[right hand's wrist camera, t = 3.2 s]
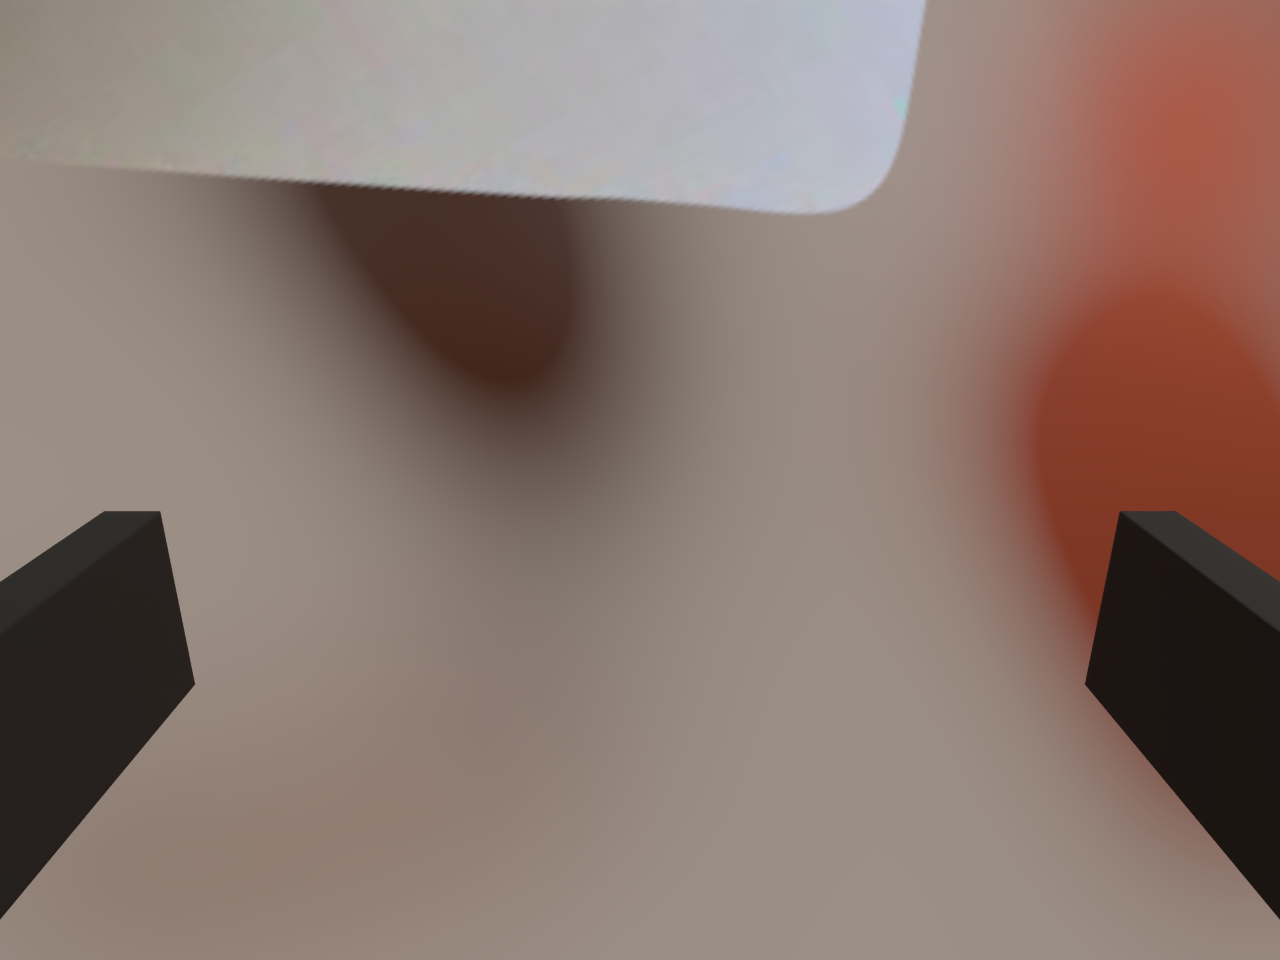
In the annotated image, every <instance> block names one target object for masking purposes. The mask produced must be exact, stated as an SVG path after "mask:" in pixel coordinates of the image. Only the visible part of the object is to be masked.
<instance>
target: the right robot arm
mask: <svg viewBox="0 0 1280 960" xmlns="http://www.w3.org/2000/svg"><path fill="white" fill-rule="evenodd" d="M194 685H195V682H194V677H193V672H192V667H191V662H190V657H189V652H188V647H187V642H186V637H185V632H184V627H183V622H182V617H181V612H180V608H179V602H178V597H177V592H176V587H175V583H174V578H173V573H172V568H171V563H170V558H169V553H168V548H167V543H166V538H165V533H164V528H163V523H162V518H161V513H160V511H104V512H103V513H101V514H100V515H98V516H97V517H95V518H94V519H92V520H91V521H89V522H88V523H86V524H85V525H83V526H82V527H80V528H79V529H77V530H76V531H75V532H73V533H72V534H70V535H69V536H67V537H66V538H64V539H63V540H61V541H60V542H58V543H57V544H55V545H54V546H52V547H51V548H50V549H48V550H47V551H45V552H44V553H42V554H41V555H39V556H38V557H36V558H35V559H33V560H32V561H30V562H29V563H27V564H26V565H24V566H23V567H22V568H20V569H19V570H17V571H16V572H14V573H13V574H11V575H10V576H8V577H7V578H5V579H4V580H2V581H1V582H0V919H1V918H2V917H3V915H4V914H5V913H6V912H7V911H8V909H9V908H10V907H11V906H12V905H13V903H14V902H15V901H16V900H17V899H18V897H19V896H20V895H21V894H22V892H23V891H24V890H25V889H26V888H27V886H28V885H29V884H30V883H31V882H32V880H33V879H34V878H35V877H36V876H37V874H38V873H39V872H40V871H41V870H42V868H43V867H44V866H45V865H46V864H47V862H48V861H49V860H50V859H51V857H52V856H53V855H54V854H55V853H56V851H57V850H58V849H59V848H60V847H61V845H62V844H63V843H64V842H65V841H66V839H67V838H68V837H69V836H70V835H71V833H72V832H73V831H74V830H75V828H76V827H77V826H78V825H79V824H80V823H81V821H82V820H83V819H84V818H85V816H86V815H87V814H88V813H89V812H90V810H91V809H92V808H93V807H94V806H95V804H96V803H97V802H98V801H99V800H100V798H101V797H102V796H103V795H104V794H105V792H106V791H107V790H108V789H109V787H110V786H111V785H112V784H113V783H114V781H115V780H116V779H117V778H118V777H119V775H120V774H121V773H122V772H123V771H124V769H125V768H126V767H127V766H128V765H129V763H130V762H131V761H132V760H133V759H134V757H135V756H136V755H137V754H138V753H139V751H140V750H141V749H142V748H143V746H144V745H145V744H146V743H147V742H148V740H149V739H150V738H151V737H152V735H153V734H154V733H155V732H156V731H157V730H158V728H159V727H160V726H161V725H162V724H163V722H164V721H165V720H166V719H167V718H168V716H169V715H170V714H171V713H172V712H173V710H174V709H175V708H176V707H177V705H178V704H179V703H180V702H181V701H182V699H183V698H184V697H185V696H186V695H187V693H188V692H189V691H190V690H191V689H192V687H193V686H194ZM1085 685H1086V686H1087V687H1088V689H1089V690H1090V691H1091V692H1092V693H1093V695H1094V696H1095V697H1096V698H1097V699H1098V701H1099V702H1100V703H1101V704H1102V705H1103V707H1104V708H1105V709H1106V710H1107V711H1108V713H1109V714H1110V715H1111V716H1112V718H1113V719H1114V720H1115V721H1116V722H1117V723H1118V725H1119V726H1120V727H1121V728H1122V730H1123V731H1124V732H1125V733H1126V734H1127V736H1128V737H1129V738H1130V739H1131V740H1132V742H1133V743H1134V744H1135V745H1136V746H1137V748H1138V749H1139V750H1140V751H1141V752H1142V754H1143V755H1144V756H1145V757H1146V759H1147V760H1148V761H1149V762H1150V763H1151V765H1152V766H1153V767H1154V768H1155V769H1156V771H1157V772H1158V773H1159V774H1160V775H1161V777H1162V778H1163V779H1164V780H1165V781H1166V783H1167V784H1168V785H1169V786H1170V788H1171V789H1172V790H1173V791H1174V792H1175V794H1176V795H1177V796H1178V797H1179V798H1180V800H1181V801H1182V802H1183V803H1184V804H1185V806H1186V807H1187V808H1188V809H1189V810H1190V812H1191V813H1192V814H1193V815H1194V816H1195V818H1196V819H1197V820H1198V821H1199V822H1200V824H1201V825H1202V826H1203V827H1204V829H1205V830H1206V831H1207V832H1208V833H1209V835H1210V836H1211V837H1212V838H1213V839H1214V841H1215V842H1216V843H1217V844H1218V845H1219V847H1220V848H1221V849H1222V850H1223V851H1224V853H1225V854H1226V855H1227V856H1228V858H1229V859H1230V860H1231V861H1232V862H1233V863H1234V865H1235V866H1236V867H1237V868H1238V870H1239V871H1240V872H1241V873H1242V874H1243V876H1244V877H1245V878H1246V879H1247V880H1248V882H1249V883H1250V884H1251V885H1252V886H1253V888H1254V889H1255V890H1256V891H1257V892H1258V894H1259V895H1260V896H1261V897H1262V898H1263V900H1264V901H1265V902H1266V903H1267V905H1268V906H1269V907H1270V908H1271V909H1272V911H1273V912H1274V913H1275V914H1276V915H1277V917H1278V918H1279V919H1280V582H1279V581H1278V580H1276V579H1275V578H1273V577H1272V576H1270V575H1269V574H1267V573H1266V572H1264V571H1263V570H1261V569H1260V568H1258V567H1257V566H1256V565H1254V564H1253V563H1251V562H1250V561H1248V560H1247V559H1245V558H1244V557H1242V556H1241V555H1239V554H1238V553H1236V552H1235V551H1233V550H1232V549H1231V548H1229V547H1228V546H1226V545H1225V544H1223V543H1222V542H1220V541H1219V540H1217V539H1216V538H1214V537H1213V536H1211V535H1210V534H1208V533H1207V532H1205V531H1204V530H1203V529H1201V528H1200V527H1198V526H1197V525H1195V524H1194V523H1192V522H1191V521H1189V520H1188V519H1186V518H1185V517H1183V516H1182V515H1180V514H1179V513H1178V512H1176V511H1120V513H1119V518H1118V523H1117V528H1116V533H1115V538H1114V543H1113V548H1112V553H1111V558H1110V563H1109V568H1108V573H1107V578H1106V582H1105V587H1104V592H1103V597H1102V602H1101V607H1100V612H1099V617H1098V622H1097V627H1096V632H1095V637H1094V642H1093V647H1092V652H1091V657H1090V662H1089V667H1088V672H1087V677H1086V682H1085Z"/></svg>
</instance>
